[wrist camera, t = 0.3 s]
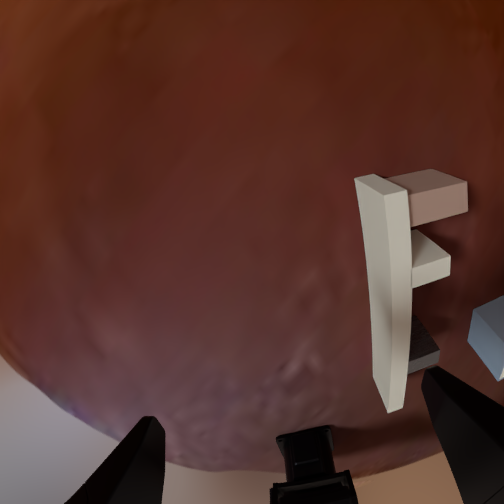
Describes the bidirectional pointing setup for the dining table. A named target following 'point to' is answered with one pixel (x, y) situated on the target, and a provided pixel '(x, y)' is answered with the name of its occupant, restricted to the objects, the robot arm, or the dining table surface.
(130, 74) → the dining table surface
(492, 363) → the boxed book
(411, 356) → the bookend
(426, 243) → the white notched bar
